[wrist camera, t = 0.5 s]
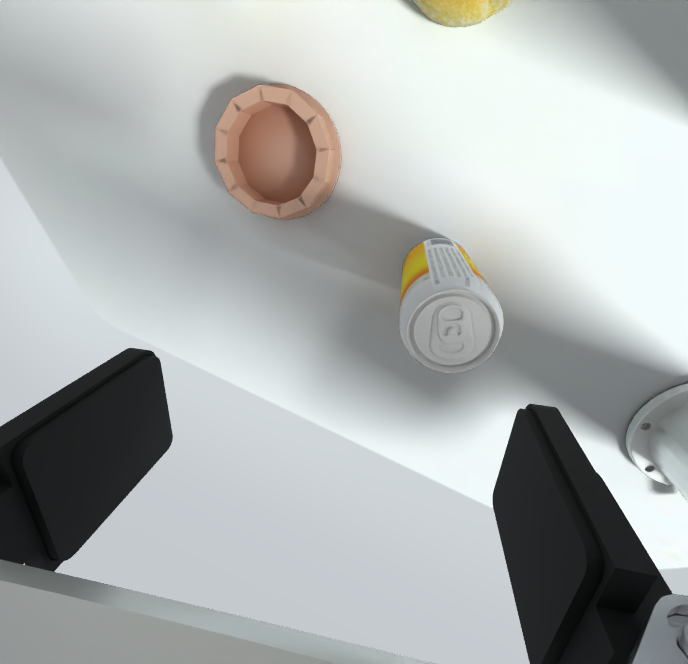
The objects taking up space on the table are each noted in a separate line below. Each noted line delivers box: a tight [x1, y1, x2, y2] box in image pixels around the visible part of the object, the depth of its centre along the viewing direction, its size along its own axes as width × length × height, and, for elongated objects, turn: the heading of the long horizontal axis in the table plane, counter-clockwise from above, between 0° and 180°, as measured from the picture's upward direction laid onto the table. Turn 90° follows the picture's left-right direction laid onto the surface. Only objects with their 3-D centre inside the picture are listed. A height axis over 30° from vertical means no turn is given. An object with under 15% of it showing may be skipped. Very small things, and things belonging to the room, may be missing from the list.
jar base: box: [215, 84, 341, 219], centre depth 32 cm, size 11×11×3 cm
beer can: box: [399, 238, 504, 373], centre depth 28 cm, size 6×6×15 cm
